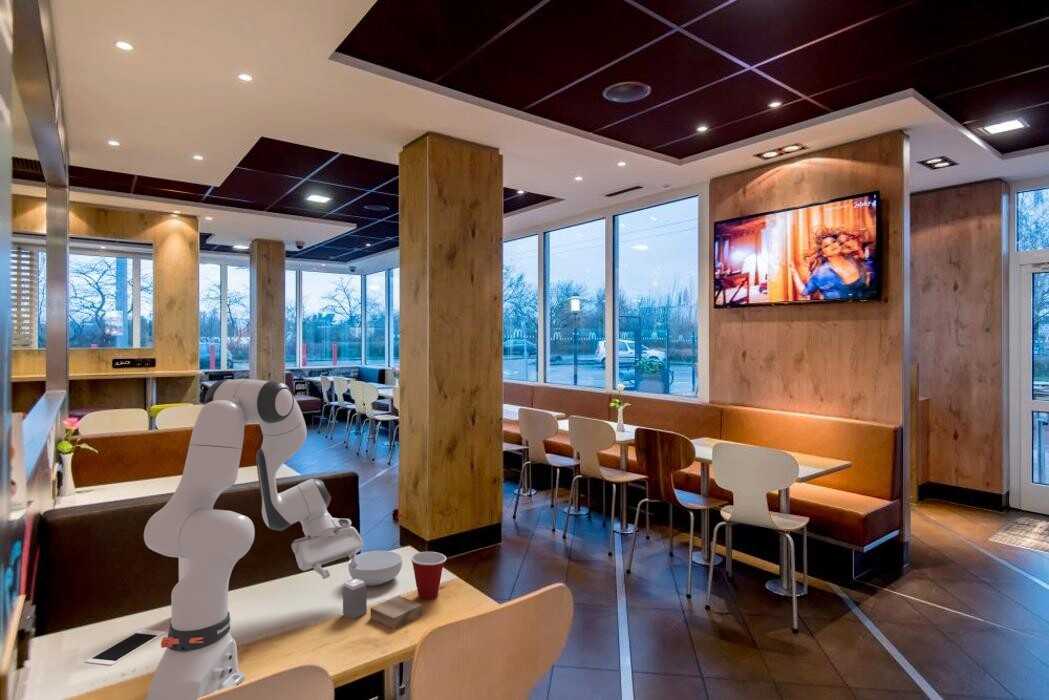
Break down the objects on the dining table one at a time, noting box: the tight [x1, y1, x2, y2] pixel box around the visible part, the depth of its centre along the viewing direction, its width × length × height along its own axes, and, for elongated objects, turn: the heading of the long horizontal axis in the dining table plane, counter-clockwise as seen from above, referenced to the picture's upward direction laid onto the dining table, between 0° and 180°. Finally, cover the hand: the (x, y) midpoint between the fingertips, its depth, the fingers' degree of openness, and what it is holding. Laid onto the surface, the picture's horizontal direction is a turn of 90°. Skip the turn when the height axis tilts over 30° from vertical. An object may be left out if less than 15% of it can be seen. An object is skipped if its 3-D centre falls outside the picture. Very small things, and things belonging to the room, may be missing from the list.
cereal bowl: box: [348, 550, 403, 587], centre depth 183 cm, size 17×17×7 cm
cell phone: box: [84, 629, 166, 666], centre depth 143 cm, size 8×16×1 cm, turn 169°
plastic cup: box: [410, 551, 447, 601], centre depth 172 cm, size 11×11×12 cm
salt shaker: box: [342, 579, 368, 620], centre depth 160 cm, size 5×5×9 cm
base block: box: [369, 595, 423, 630], centre depth 158 cm, size 10×10×3 cm
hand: (341, 572), depth 164 cm, fingers open, 8 cm apart
